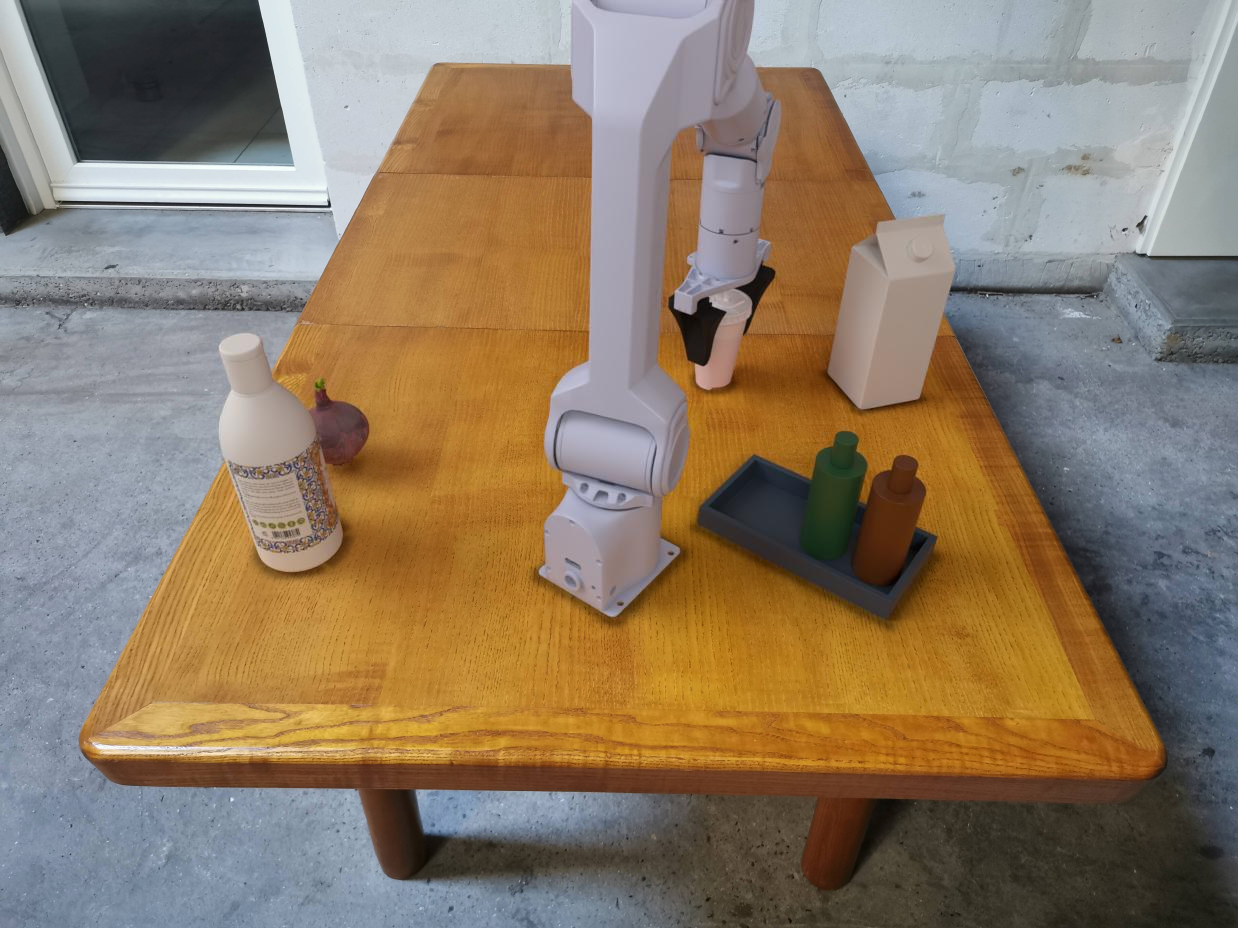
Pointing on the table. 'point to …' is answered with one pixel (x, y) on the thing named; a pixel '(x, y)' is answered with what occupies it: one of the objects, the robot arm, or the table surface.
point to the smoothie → (725, 339)
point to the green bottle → (833, 498)
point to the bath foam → (276, 463)
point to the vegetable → (338, 427)
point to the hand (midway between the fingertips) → (717, 346)
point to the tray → (799, 533)
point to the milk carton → (892, 311)
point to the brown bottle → (889, 523)
